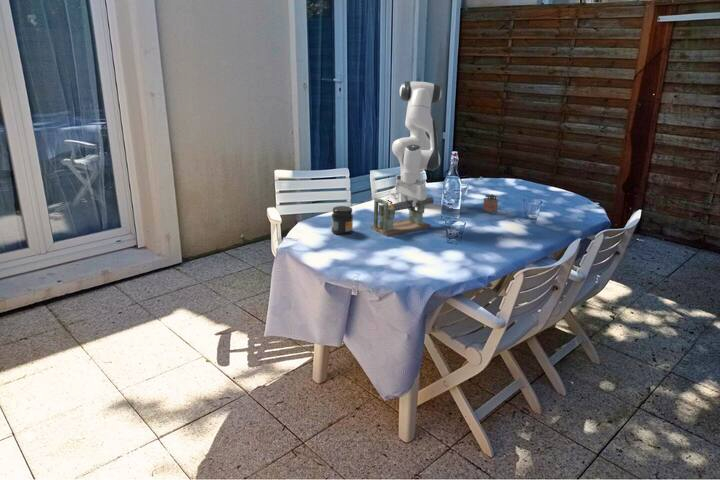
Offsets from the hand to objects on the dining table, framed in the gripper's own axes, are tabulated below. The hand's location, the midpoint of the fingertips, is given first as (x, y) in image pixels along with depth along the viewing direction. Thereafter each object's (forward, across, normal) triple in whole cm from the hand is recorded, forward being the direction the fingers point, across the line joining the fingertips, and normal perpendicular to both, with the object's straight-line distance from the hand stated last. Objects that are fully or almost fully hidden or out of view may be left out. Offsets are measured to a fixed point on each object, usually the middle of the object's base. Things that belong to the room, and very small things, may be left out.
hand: (410, 205), depth 279 cm
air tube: (+2, 0, 0) cm, 2 cm away
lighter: (+12, -2, -58) cm, 59 cm away
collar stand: (+12, 0, +5) cm, 13 cm away
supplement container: (+12, +10, +34) cm, 38 cm away
